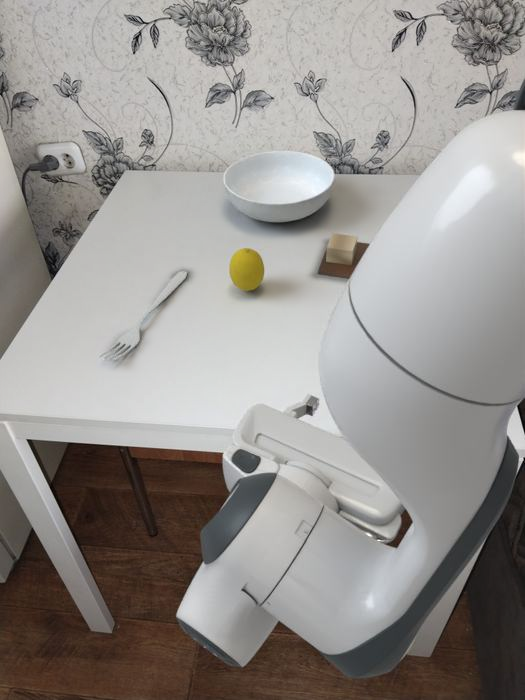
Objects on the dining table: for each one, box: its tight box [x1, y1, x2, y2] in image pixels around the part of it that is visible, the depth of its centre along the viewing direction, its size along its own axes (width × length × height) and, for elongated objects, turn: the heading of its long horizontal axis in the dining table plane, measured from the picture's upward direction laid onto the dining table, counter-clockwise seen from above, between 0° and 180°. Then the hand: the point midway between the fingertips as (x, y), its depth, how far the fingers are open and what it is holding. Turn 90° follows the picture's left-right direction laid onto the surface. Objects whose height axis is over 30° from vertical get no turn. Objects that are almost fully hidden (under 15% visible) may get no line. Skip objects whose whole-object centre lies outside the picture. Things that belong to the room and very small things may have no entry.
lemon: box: [229, 247, 265, 291], centre depth 93 cm, size 6×6×8 cm
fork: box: [98, 270, 188, 363], centre depth 92 cm, size 3×24×2 cm, turn 158°
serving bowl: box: [222, 150, 336, 223], centre depth 112 cm, size 21×21×7 cm
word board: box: [317, 232, 370, 279], centre depth 99 cm, size 20×10×4 cm, turn 73°
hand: (350, 414), depth 69 cm, fingers open, 8 cm apart
